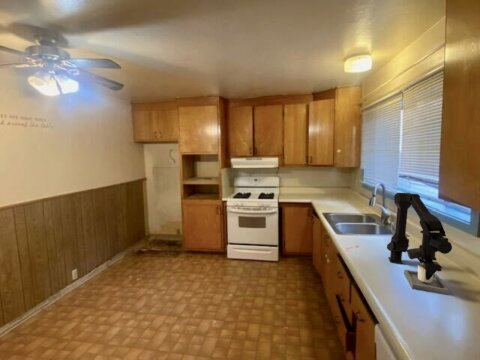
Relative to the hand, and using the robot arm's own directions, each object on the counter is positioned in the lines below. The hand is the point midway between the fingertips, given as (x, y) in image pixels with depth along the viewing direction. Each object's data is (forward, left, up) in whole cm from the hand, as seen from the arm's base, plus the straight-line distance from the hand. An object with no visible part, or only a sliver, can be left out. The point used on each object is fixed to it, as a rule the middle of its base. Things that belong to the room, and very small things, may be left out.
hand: (425, 276), depth 131 cm
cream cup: (0, 0, -2) cm, 2 cm away
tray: (0, 0, -3) cm, 3 cm away
